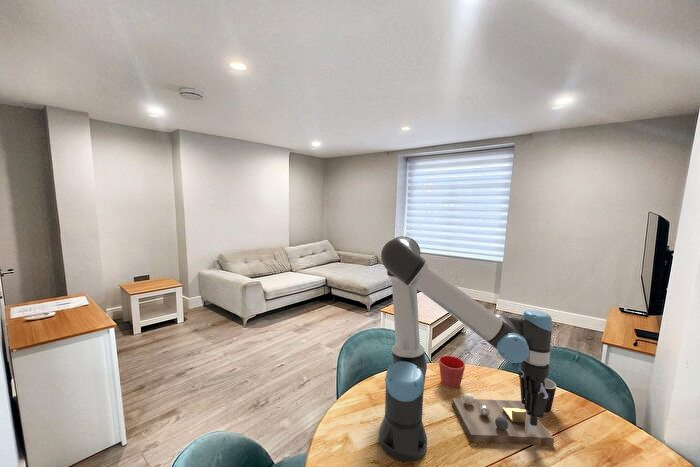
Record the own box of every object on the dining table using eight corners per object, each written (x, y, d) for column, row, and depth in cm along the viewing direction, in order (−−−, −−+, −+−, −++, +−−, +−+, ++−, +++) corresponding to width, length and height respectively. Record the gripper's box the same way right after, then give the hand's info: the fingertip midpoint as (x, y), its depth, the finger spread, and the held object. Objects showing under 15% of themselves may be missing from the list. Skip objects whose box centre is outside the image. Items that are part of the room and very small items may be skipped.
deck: (470, 441, 91) (471, 434, 90) (452, 404, 109) (452, 398, 108) (553, 445, 90) (553, 438, 90) (520, 407, 108) (521, 400, 108)
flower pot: (466, 381, 124) (467, 359, 124) (461, 394, 115) (462, 371, 114) (441, 373, 130) (442, 353, 129) (435, 385, 121) (436, 363, 120)
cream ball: (465, 407, 103) (465, 397, 103) (461, 400, 107) (462, 390, 107) (475, 407, 103) (476, 397, 103) (471, 400, 107) (472, 391, 107)
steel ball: (481, 418, 97) (481, 409, 97) (477, 412, 101) (477, 403, 101) (491, 419, 97) (491, 409, 97) (486, 412, 101) (487, 403, 101)
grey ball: (498, 433, 91) (498, 421, 91) (492, 424, 95) (493, 413, 95) (510, 433, 91) (510, 422, 91) (504, 424, 95) (504, 414, 95)
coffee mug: (559, 416, 103) (561, 390, 102) (533, 412, 105) (534, 387, 104) (544, 396, 114) (545, 372, 114) (520, 393, 116) (522, 370, 115)
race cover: (511, 422, 96) (512, 411, 96) (502, 409, 102) (503, 399, 102) (529, 422, 96) (530, 412, 95) (519, 410, 102) (520, 400, 101)
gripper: (561, 372, 82) (556, 449, 84) (534, 351, 95) (530, 417, 97) (535, 371, 83) (530, 447, 84) (511, 350, 96) (507, 416, 97)
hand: (530, 431), depth 91 cm, fingers closed
